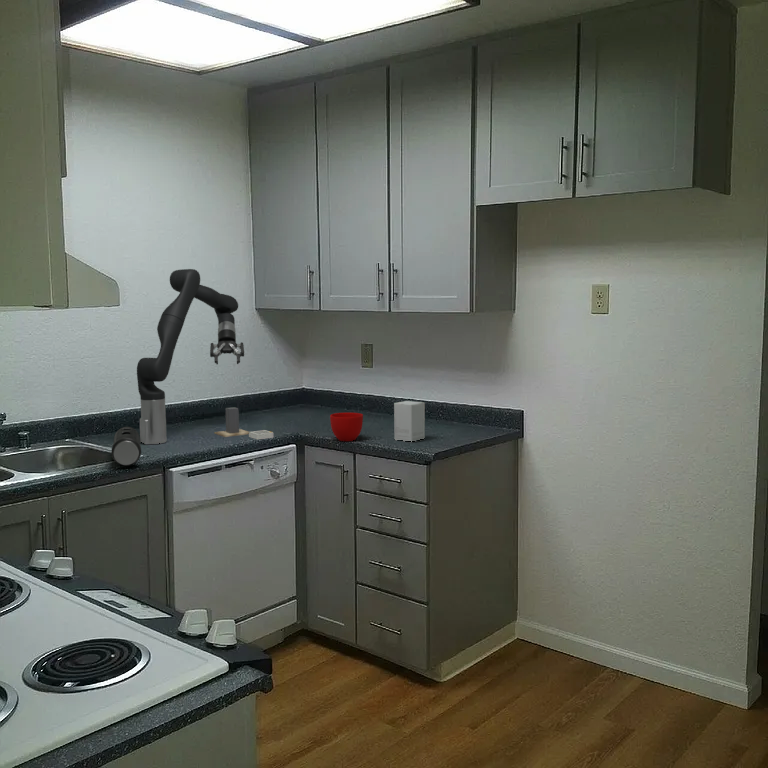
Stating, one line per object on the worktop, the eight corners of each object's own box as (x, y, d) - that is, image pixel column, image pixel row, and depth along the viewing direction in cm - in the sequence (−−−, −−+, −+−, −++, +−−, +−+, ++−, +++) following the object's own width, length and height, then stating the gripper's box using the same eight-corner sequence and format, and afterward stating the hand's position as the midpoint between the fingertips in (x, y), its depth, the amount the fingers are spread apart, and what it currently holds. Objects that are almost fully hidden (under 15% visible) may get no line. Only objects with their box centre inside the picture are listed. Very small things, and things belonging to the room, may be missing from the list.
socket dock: (257, 440, 323) (257, 433, 322) (249, 438, 329) (248, 431, 328) (273, 438, 327) (273, 432, 327) (265, 436, 333) (264, 429, 332)
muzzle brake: (141, 452, 301) (140, 425, 300) (141, 468, 274) (140, 438, 273) (113, 454, 298) (112, 426, 297) (111, 470, 271) (110, 440, 270)
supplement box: (425, 439, 324) (425, 402, 322) (411, 442, 317) (411, 404, 315) (407, 437, 329) (407, 400, 328) (393, 440, 323) (393, 402, 321)
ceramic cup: (373, 436, 330) (373, 412, 329) (353, 444, 315) (352, 418, 314) (345, 434, 336) (345, 410, 335) (324, 441, 321) (324, 416, 320)
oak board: (224, 438, 329) (224, 435, 329) (214, 434, 337) (214, 432, 337) (251, 434, 336) (251, 432, 336) (240, 431, 344) (240, 429, 344)
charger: (230, 433, 334) (229, 409, 332) (226, 432, 337) (225, 408, 336) (239, 432, 336) (238, 408, 335) (235, 431, 339) (234, 407, 338)
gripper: (209, 328, 349) (209, 357, 339) (243, 328, 352) (244, 356, 342) (210, 340, 355) (210, 369, 345) (243, 339, 358) (244, 368, 348)
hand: (227, 363), depth 344 cm, fingers open, 8 cm apart
